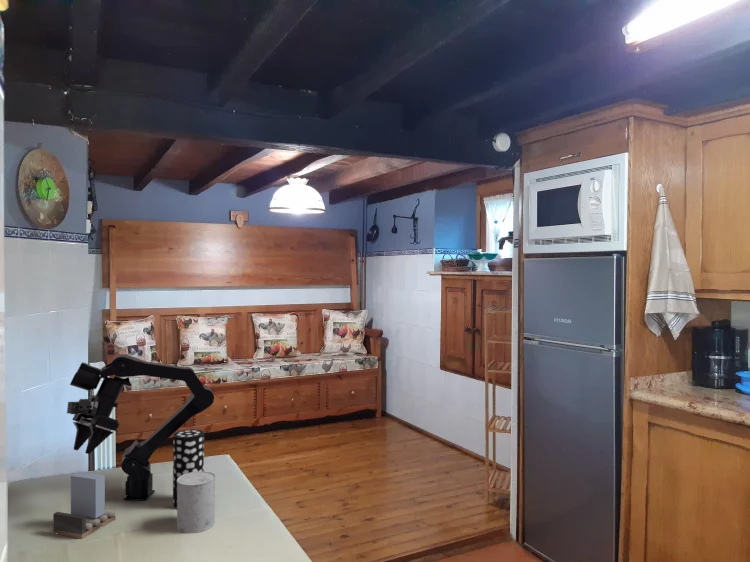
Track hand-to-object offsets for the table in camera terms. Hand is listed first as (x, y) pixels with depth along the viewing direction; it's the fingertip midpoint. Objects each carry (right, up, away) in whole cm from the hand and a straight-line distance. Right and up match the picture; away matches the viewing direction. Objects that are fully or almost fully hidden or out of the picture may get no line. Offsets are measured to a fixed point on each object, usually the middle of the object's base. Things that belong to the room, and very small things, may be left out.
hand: (81, 451), depth 148 cm
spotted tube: (+27, -17, +6) cm, 33 cm away
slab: (+6, -14, -8) cm, 17 cm away
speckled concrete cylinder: (+34, -17, -7) cm, 39 cm away
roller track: (+6, -17, -8) cm, 19 cm away
